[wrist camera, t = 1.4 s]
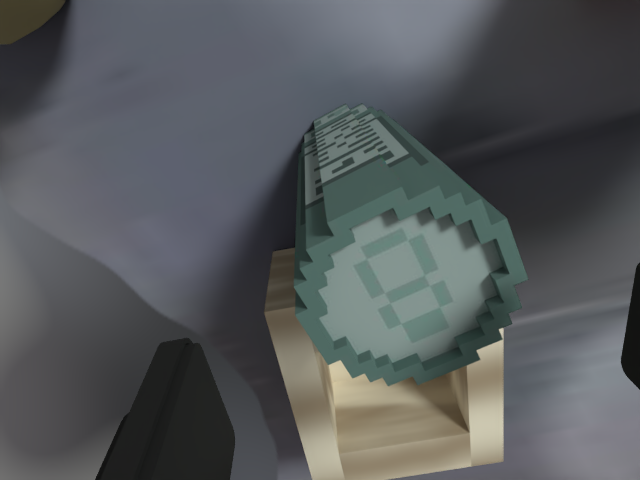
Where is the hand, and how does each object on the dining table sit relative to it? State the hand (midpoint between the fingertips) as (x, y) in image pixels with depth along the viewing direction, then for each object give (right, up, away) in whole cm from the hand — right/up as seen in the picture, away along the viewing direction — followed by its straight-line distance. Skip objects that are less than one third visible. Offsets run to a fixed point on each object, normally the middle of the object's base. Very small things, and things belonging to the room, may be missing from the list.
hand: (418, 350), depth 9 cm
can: (0, +7, +16) cm, 18 cm away
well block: (+2, -4, +21) cm, 21 cm away
